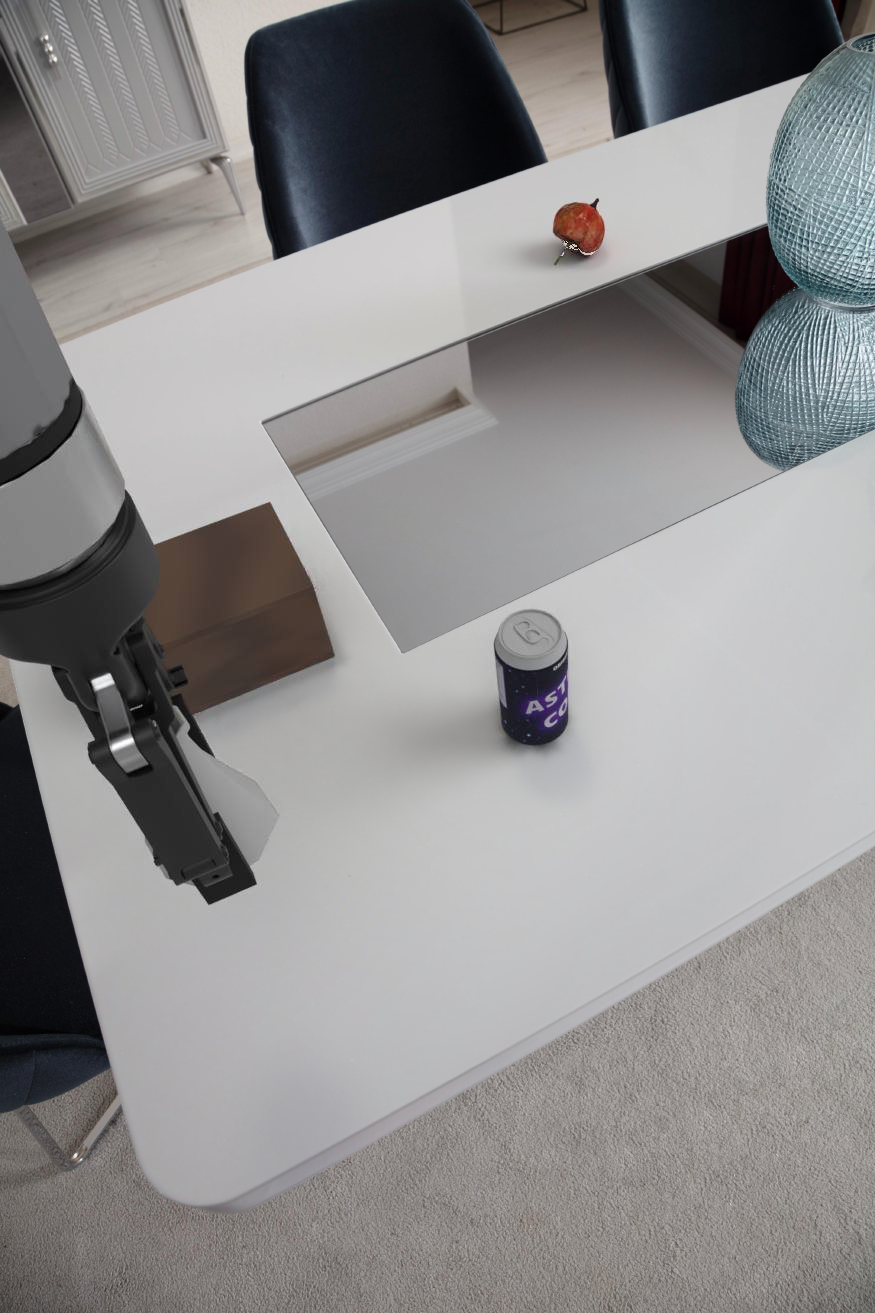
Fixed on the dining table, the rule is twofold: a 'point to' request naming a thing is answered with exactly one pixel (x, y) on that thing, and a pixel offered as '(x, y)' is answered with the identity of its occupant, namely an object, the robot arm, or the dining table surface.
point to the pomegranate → (579, 227)
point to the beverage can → (532, 676)
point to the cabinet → (235, 608)
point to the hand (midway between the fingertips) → (212, 827)
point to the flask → (228, 797)
